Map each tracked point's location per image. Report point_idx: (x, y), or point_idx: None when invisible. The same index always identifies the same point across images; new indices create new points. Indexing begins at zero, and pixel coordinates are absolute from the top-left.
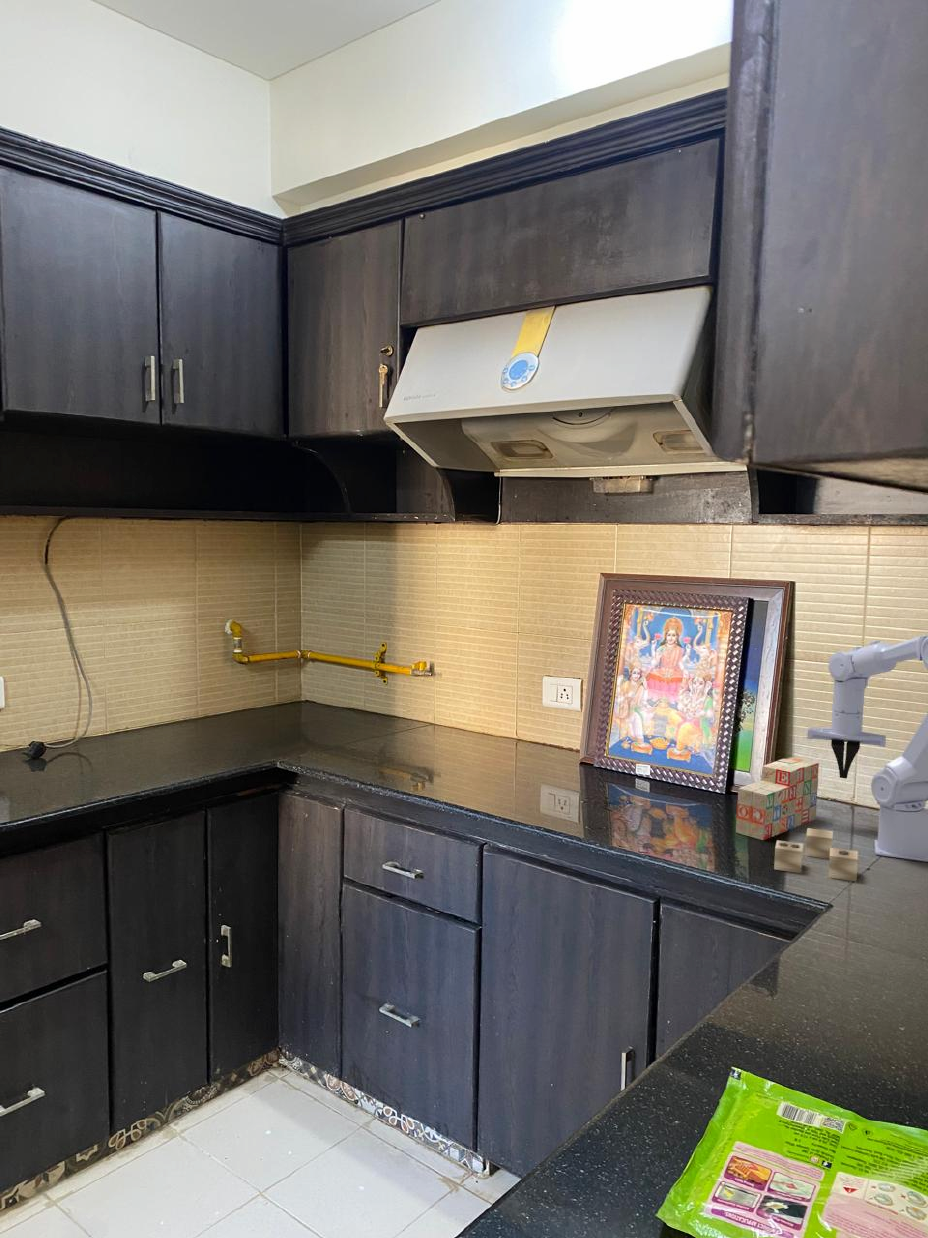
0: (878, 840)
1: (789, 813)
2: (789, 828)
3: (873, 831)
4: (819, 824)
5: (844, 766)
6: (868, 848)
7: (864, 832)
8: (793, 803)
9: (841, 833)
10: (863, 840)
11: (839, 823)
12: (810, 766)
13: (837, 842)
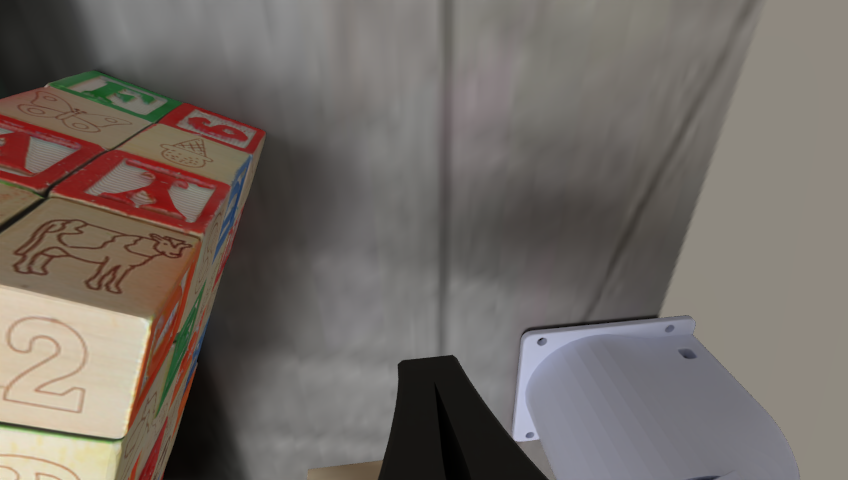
0: (534, 423)
1: (178, 406)
2: (200, 346)
3: (532, 199)
4: (301, 215)
5: (447, 448)
6: (495, 388)
7: (494, 231)
8: (171, 416)
9: (404, 287)
10: (484, 324)
11: (387, 153)
12: (124, 453)
13: (396, 384)
